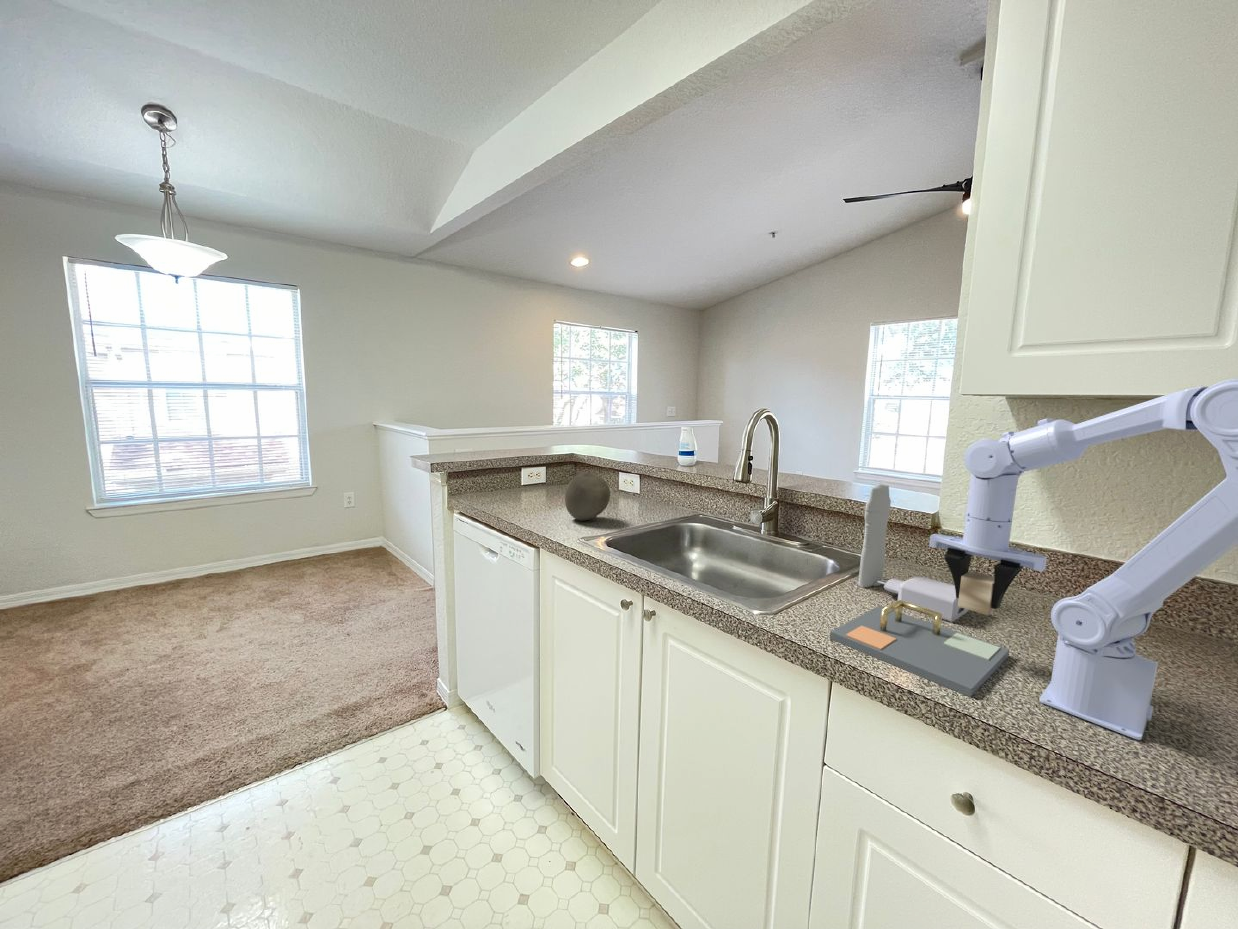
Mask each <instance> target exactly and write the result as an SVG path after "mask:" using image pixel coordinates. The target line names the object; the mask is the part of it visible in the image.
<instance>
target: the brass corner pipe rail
mask: <svg viewBox="0 0 1238 929" xmlns="http://www.w3.org/2000/svg"><path fill="white" fill-rule="evenodd" d="M904 608H905V609H908V610H912V611H915V612H918V613H920V614H923V615H927V616H930V617H932V618H934V621H933V624H934V627H933V634H934V635H937V636H939V635H940V629H941V626H942V620H943V619H942V614H941V613H939V612H936V611H933V610H930V609H927V608H923V607H920V606H917V605H914V604H911V603H908V602H905V601H901V600H898V599H897V600H896V601H895V602H893V603H891V604H889V605H888V606H886V607H885V608H884V609H882V612H881V621H880V630H881V631H884V632H885V631H886V629H887V620H888V613H890V612H892V611H896V615H895V621H897V622H901V621H902V613H903V610H904Z"/></svg>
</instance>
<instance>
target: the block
mask: <svg viewBox="0 0 1238 929" xmlns="http://www.w3.org/2000/svg"><path fill="white" fill-rule="evenodd" d="M993 590H994V576H991V575H988V574H983V573H980V572H976V571H971V570H968V573H966V574H964V575H962V576H961V584H960V592H959V600H958V607H961V608H965V609H968V611H972V612H974V613H979V614H982V615H985V616H989V615H991V614H992V613H993V612H994V611H995V610H997V609H994V608H991V600H992V595H993Z"/></svg>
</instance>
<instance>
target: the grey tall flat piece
mask: <svg viewBox="0 0 1238 929" xmlns="http://www.w3.org/2000/svg"><path fill="white" fill-rule="evenodd" d="M891 503H892V500H891V498H890V487H889V485H887V484H882V483H881V484H877V485H876V486H873V487H871V489H870V492H869V495H868V499H867V501H866V503H865V510H864V534H863V543H862V549H861V553H860V561H859V562H860V563H859V573H858V582H857V585H858V587H859V588H862V589H868V588H870V587H873V586H878V587H879V586H881V585H882V584H881V583H878V581H881V579H884V570H885V560H886V541H887V530H888V523H889V522H888V520H889V517H890V512H891ZM881 582H882V581H881Z"/></svg>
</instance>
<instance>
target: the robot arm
mask: <svg viewBox="0 0 1238 929" xmlns="http://www.w3.org/2000/svg"><path fill="white" fill-rule="evenodd" d="M1167 429H1170V430H1177V431H1199V432H1200V434H1202V436H1204V438H1206V440H1207V441H1209V443H1210V444H1211V445H1212V446H1213V447H1214V448H1215V449H1216V450H1217V453H1218V455H1219V459H1220V460H1221V463H1222V466H1223V468H1224V471H1225V474H1226V477H1225V478H1224V479H1223V480H1222V481H1221V482H1220V483H1218V484H1217V485H1216V486H1215V487H1214V488H1213V489H1212V490H1210V491H1209V492H1208V493H1207V494H1205V495H1204V496H1203V497H1202V498H1200V499H1199V500H1198V501H1196V503H1195V504H1193V506H1191V507H1190V508H1188V510H1187V511H1185V512H1184V513H1182V514H1181V515H1180V516H1179V517H1178V518H1177V519H1176V520H1175V521H1173V522H1172V523H1171V524H1169V526H1167V528H1165V529H1163V530H1162V531H1161V532H1160V533H1159V534H1157V536H1155V537H1154V538H1153V539H1152V540H1151V541H1149V543H1147V544H1146V545H1145V546H1144V547H1143V548H1142V549H1140V550H1139V551H1138V552H1136V553H1135V554H1134V555H1133V556H1132V557H1131V558H1129V559H1128V560H1127V561H1126V562H1125V563H1123V564H1122V565H1121V566H1119V568H1118V569H1116V570H1115V571H1114V572H1113V573H1112V574H1110V575H1109V576H1107V577H1105V578H1103V579H1101V580H1100V581H1098V582H1096V583H1095V584H1092V585H1091V586H1089V587H1087V588H1086V589H1085V590H1084V591H1083V592H1081V593H1080V594H1077V595H1075V596H1067V597H1064V598H1062V599H1059V600H1058V601H1057V602H1055V603H1054V605H1053V606H1052V609H1051V610H1050V619H1051V624H1052V625H1053V628H1054V629H1055V631H1056V632H1057V633H1058V634H1057V642H1056V648H1055V651H1054V652H1055V654H1054V660H1053V665H1052V673H1051V679H1050V682H1049V684H1048V685H1047V686H1046V688H1045V690H1044V691H1043V692H1042V693H1041V695H1040V697H1039V702H1040V703H1042V704H1044V705H1046V706H1049V707H1052V708H1054V709H1056V710H1060V711H1062V712H1064V713H1068V714H1070V715H1073V716H1075V717H1078V718H1079V719H1083V720H1085V721H1088V722H1091V723H1093V724H1096V725H1097V726H1100V727H1103V728H1106V729H1109V730H1111V731H1114V732H1116V733H1118V734H1119V733H1120V735H1121V734H1122V735H1124V736H1127V737H1129V738H1132V739H1135V740H1137V741H1140V740H1141V741H1142V740H1143V735H1144V732H1145V728H1146V725H1147V722H1148V721H1149V722H1150V721H1152V717H1153V712H1154V706H1152V705H1151V704H1152V702H1151V701H1152V696H1153V692H1154V687H1155V681H1156V675H1157V671H1158V665H1159V664H1158V662H1157V661H1155V660H1152V659H1149V658H1146V657H1145V656H1142V655H1140V654H1138V653H1136V651H1137V649H1136V644H1135V642H1134V639H1135V638H1136V637H1139V636H1141V635H1143V634H1144V633H1145V632H1146V631H1147V630H1149V626H1150V624H1151V619H1152V616H1153V615H1154V613H1156V612H1157V611H1158V610H1159V609H1161V608H1163V606H1164V601H1165V600H1166V599H1167V598H1169V597H1170V596H1171V595H1172V594H1174V593H1175V592H1176V591H1177V590H1179V589H1180V588H1182V587H1183V586H1184V585H1186V584H1187V583H1189V582H1190V581H1191V580H1193V579H1194V578H1195V577H1196V576H1198V575H1199V574H1201V573H1202V572H1203V571H1205V570H1206V569H1207V568H1208V567H1210V566H1211V565H1212V564H1214V563H1215V562H1217V561H1218V560H1219V559H1220V558H1222V557H1223V556H1224V555H1226V554H1227V553H1229V552H1230V551H1231V550H1233V549H1234V548H1236V547H1237V546H1238V378H1232V379H1227V380H1223V381H1219V382H1217V383H1215V384H1212V385H1211V386H1198V387H1197V386H1196V387H1191V388H1187V389H1183V390H1180V391H1176V392H1171V393H1169V394H1165V395H1162V396H1158V397H1156V398H1153V399H1150V400H1147V401H1144V402H1140V403H1138V404H1135V405H1131V406H1129V407H1126V408H1122V409H1118V410H1116V411H1112V412H1109V413H1107V414H1106V413H1105V414H1104V415H1101V416H1097V417H1094V418H1092V419H1088V420H1086V421H1083V422H1079V423H1073V422H1071V421H1069V420H1066V419H1061V418H1060V419H1055V420H1054V418H1043V419H1041V420H1038V421H1037V426H1033V427H1030V428H1027V429H1023V430H1021V431H1017V432H1014V431H1007V432H1003V433H1001V436H1002V437H1000V438H999V439H991V438H980V439H979V440H978V441H975V442H973V443H972V444H971V445H969V447H967V449H966V450H965V453H964V457H963V461H964V465H965V468H966V469H967V472H969V473H970V477H969V478H970V479H969V486H968V495H967V505H966V512H965V520H964V528H963V536H962V537H960V536H959V537H958V536H951V535H944V534H940V533H934V534H930V536H929V545H928V546H929V547H931V548H935V549H937V548H939V549H943V550H946V553H945V554H944V561H945V562H946V564H947V566H948V568H949V571H950V574H951V576H952V580H953V583H954V584H953V585H954V586H955V591H956V598H959V592H960V584H961V576H962V575H964V574H966V573H968V572H969V571H970V570H969V569H970V566H971V565H970V564H971V560H972V556H975V557H979V558H985V559H988V560H993V561H996V562H997V561H998V563H996V564H995V565H994V567H993V569H994V576H993V577H994V590H993V595H992V600H991V608H994V609H996V610H997V609H999V608H1000V607H1001V604H1002V602H1003V598H1004V596H1005V594H1006V592H1007V590H1008V589H1009V587H1010V586H1011V583H1012V582H1013V581H1014V579H1015V578H1016V577H1017V575H1018V574H1019V573H1020V572H1021V571H1022V570H1023V569H1024V568H1029V569H1032V570H1033V571H1037V572H1040V573H1041V572H1044V571H1045V570H1046V565H1047V560H1048V556H1045V555H1042V554H1041V555H1040V554H1038V553H1033V552H1029V551H1026V550H1022V549H1019V548H1014V547H1011V546H1010V541H1011V532H1012V524H1013V516H1014V511H1015V510H1014V509H1015V501H1016V494H1017V488H1018V484H1019V479H1020V477H1021V476H1022V474H1024V473H1025V472H1030V471H1034V470H1038V469H1042V468H1045V467H1050V466H1055V465H1060V464H1064V463H1067V462H1072V461H1075V460H1079V459H1080V458H1082V456H1083V454H1084V453H1085V452H1086V450H1087V449H1088V448H1089V447H1091V446H1097V445H1101V444H1104V443H1109V442H1113V441H1117V440H1118V441H1119V440H1122V439H1128V438H1131V437H1136V436H1140V435H1145V434H1150V433H1154V432H1157V431H1162V430H1167Z"/></svg>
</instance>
